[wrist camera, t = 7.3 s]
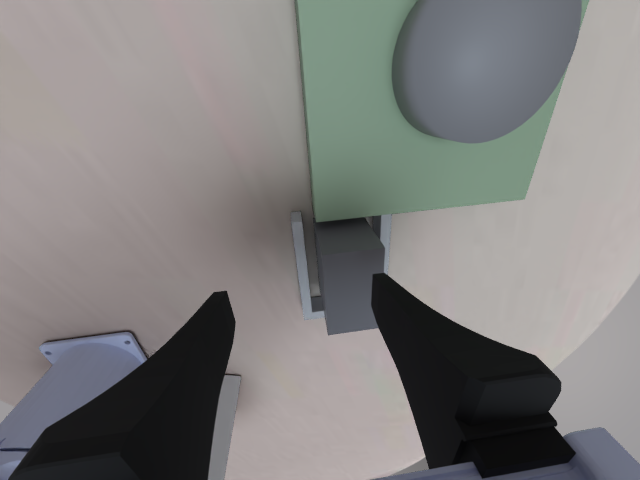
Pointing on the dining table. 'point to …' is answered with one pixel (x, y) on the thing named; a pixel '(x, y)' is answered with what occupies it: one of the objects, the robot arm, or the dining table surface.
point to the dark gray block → (347, 272)
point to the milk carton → (223, 427)
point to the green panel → (425, 105)
